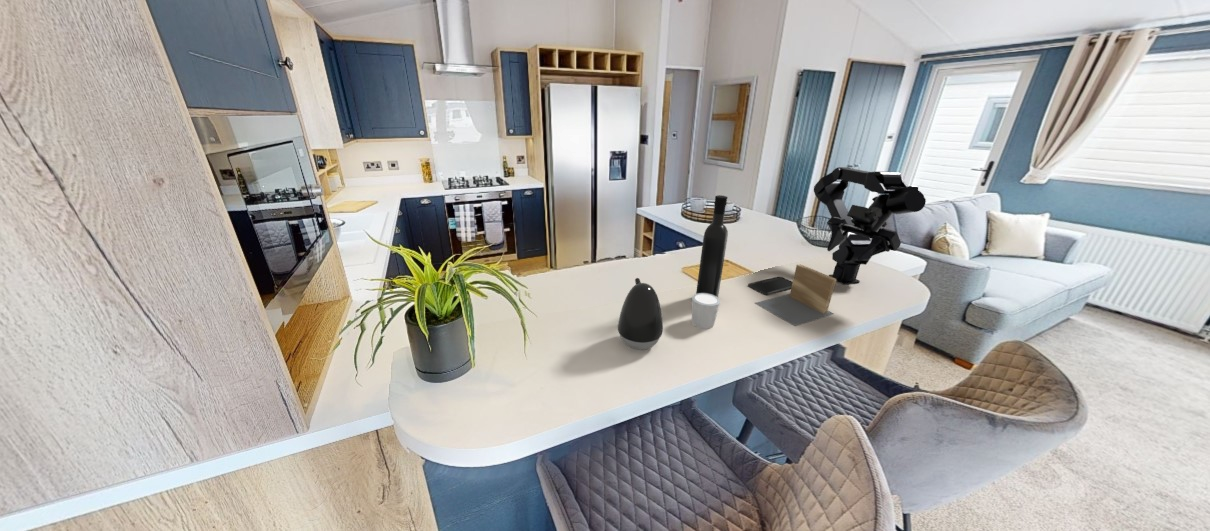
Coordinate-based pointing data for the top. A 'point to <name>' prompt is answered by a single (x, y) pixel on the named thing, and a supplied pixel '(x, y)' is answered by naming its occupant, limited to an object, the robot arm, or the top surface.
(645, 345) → the black egg shape
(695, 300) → the white short tapered cylinder
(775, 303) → the charcoal mat
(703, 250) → the wine bottle
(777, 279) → the phone
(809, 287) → the oak block
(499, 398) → the top surface
